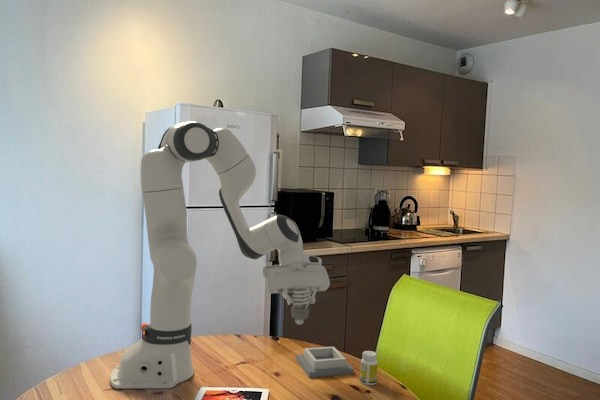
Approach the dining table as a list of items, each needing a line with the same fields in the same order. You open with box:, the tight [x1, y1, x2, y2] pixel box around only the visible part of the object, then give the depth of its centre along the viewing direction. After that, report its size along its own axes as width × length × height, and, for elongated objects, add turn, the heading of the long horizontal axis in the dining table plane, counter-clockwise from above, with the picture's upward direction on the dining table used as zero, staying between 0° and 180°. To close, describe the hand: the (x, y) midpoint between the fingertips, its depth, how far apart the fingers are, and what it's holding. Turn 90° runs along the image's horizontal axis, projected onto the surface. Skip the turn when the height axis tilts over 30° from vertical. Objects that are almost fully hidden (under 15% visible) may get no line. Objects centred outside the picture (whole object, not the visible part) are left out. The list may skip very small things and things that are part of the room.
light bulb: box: [290, 286, 312, 326], centre depth 137 cm, size 6×6×12 cm
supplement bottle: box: [359, 350, 379, 386], centre depth 130 cm, size 5×5×8 cm
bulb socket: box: [295, 346, 354, 378], centre depth 140 cm, size 14×13×4 cm
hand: (301, 303), depth 136 cm, fingers closed on light bulb, 6 cm apart
